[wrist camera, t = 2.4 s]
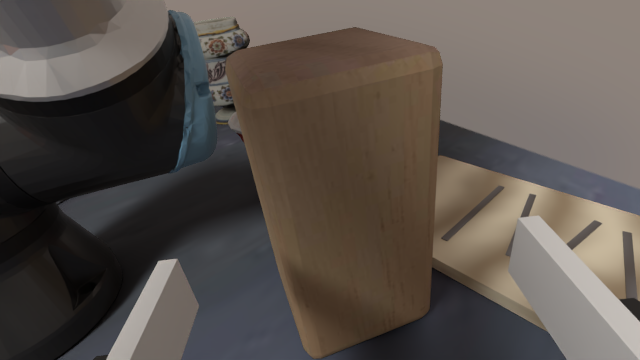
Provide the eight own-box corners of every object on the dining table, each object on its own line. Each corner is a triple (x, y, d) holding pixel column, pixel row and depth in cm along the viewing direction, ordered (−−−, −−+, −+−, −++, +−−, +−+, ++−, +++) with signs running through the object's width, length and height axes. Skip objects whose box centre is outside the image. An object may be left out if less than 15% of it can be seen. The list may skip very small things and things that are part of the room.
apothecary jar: (264, 100, 77) (245, 11, 68) (267, 119, 67) (244, 18, 58) (209, 110, 76) (182, 21, 67) (203, 131, 66) (170, 30, 57)
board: (354, 223, 37) (353, 213, 37) (439, 163, 46) (440, 154, 45) (744, 441, 18) (757, 430, 17) (769, 269, 26) (779, 257, 26)
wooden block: (375, 239, 35) (362, 23, 24) (434, 319, 27) (453, 42, 16) (278, 272, 33) (219, 50, 22) (310, 369, 24) (239, 89, 14)
